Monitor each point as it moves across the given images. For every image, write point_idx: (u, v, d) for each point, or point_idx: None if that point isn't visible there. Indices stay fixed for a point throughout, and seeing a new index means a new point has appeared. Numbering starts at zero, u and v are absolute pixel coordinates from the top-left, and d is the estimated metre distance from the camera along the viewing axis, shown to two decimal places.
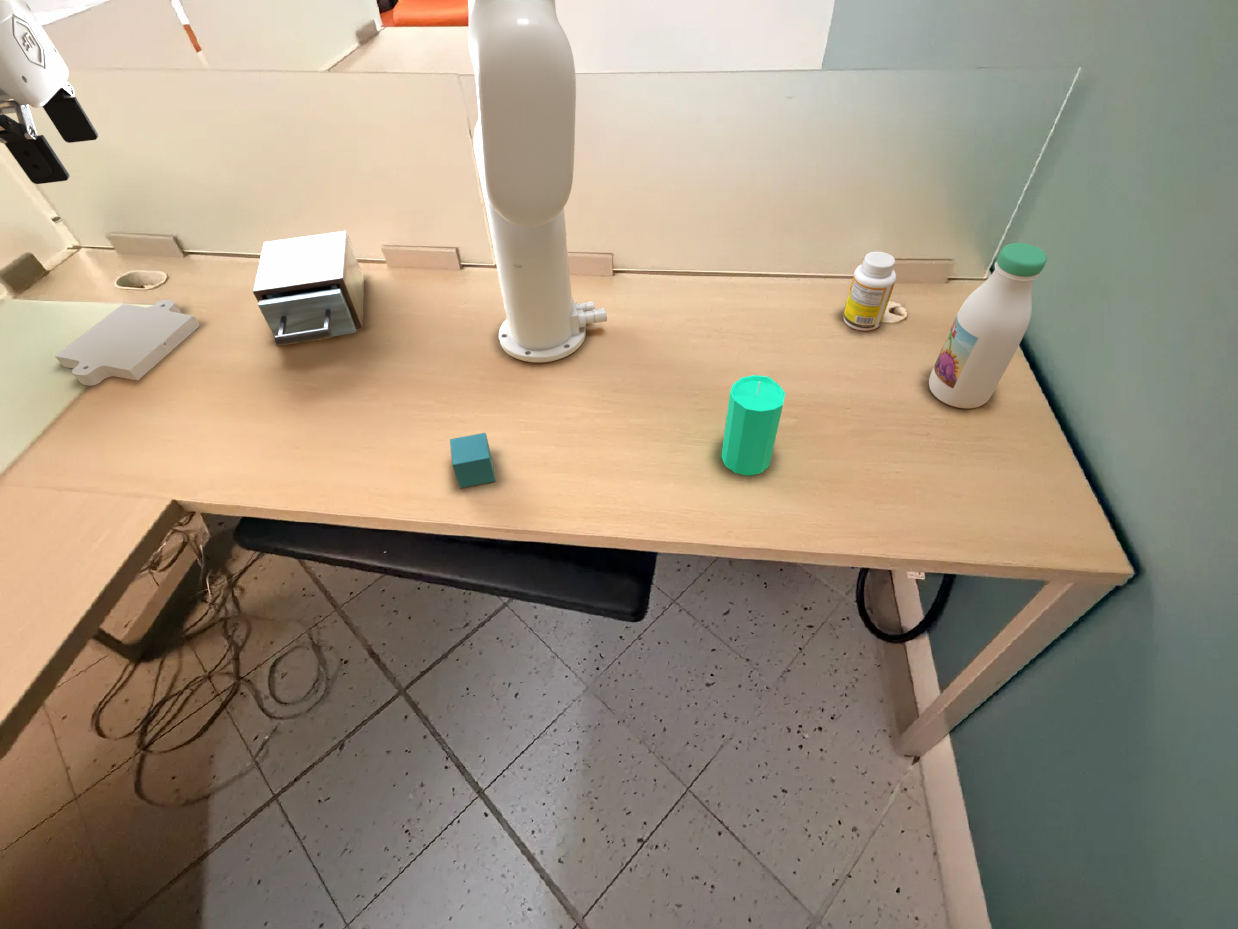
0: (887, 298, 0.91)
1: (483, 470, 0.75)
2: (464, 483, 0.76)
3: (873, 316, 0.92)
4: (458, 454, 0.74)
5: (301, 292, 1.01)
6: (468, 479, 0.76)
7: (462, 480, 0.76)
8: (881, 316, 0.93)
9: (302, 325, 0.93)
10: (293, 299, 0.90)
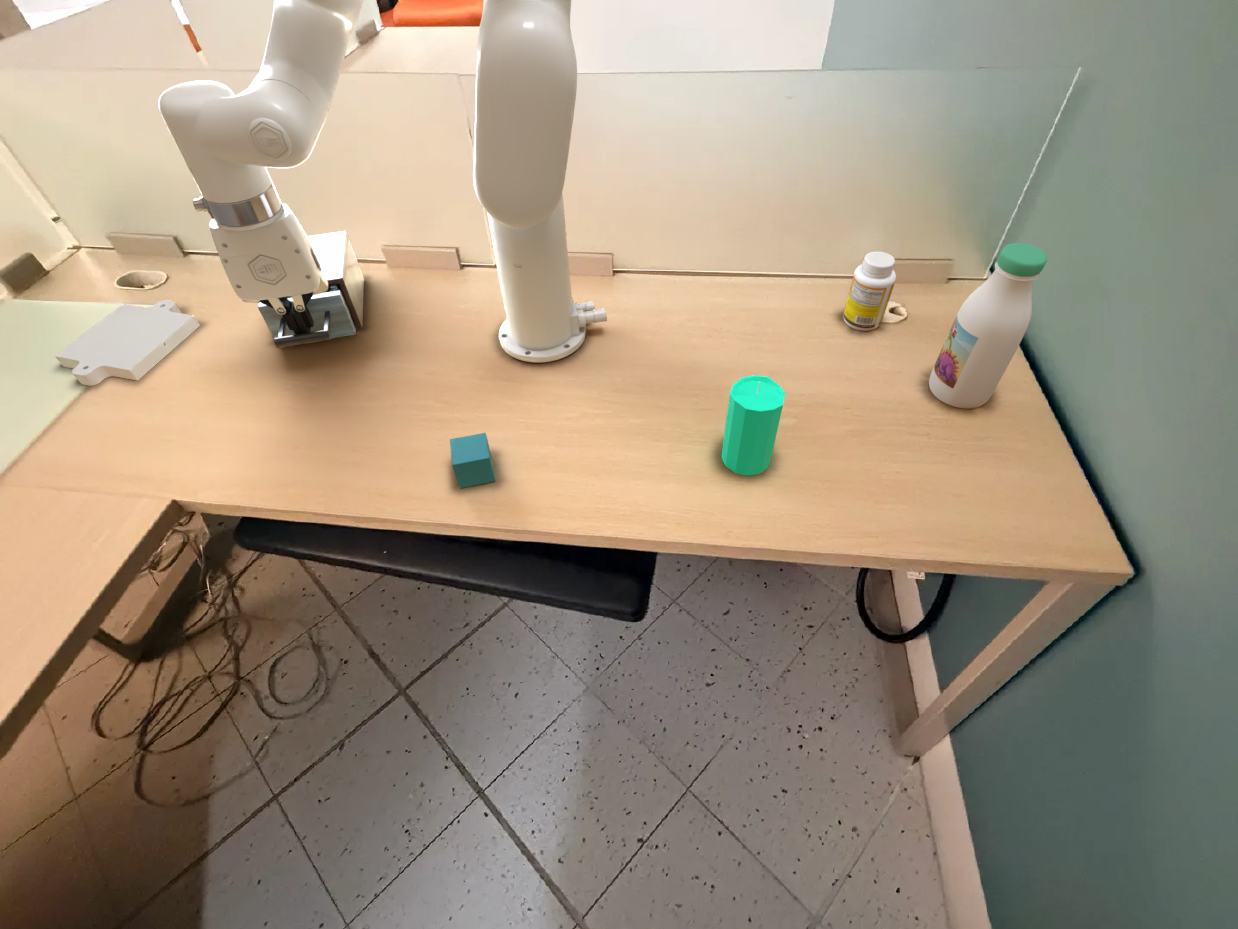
0: (887, 298, 0.91)
1: (483, 470, 0.75)
2: (464, 483, 0.76)
3: (873, 316, 0.92)
4: (458, 454, 0.74)
5: None
6: (468, 479, 0.76)
7: (462, 480, 0.76)
8: (881, 316, 0.93)
9: None
10: None
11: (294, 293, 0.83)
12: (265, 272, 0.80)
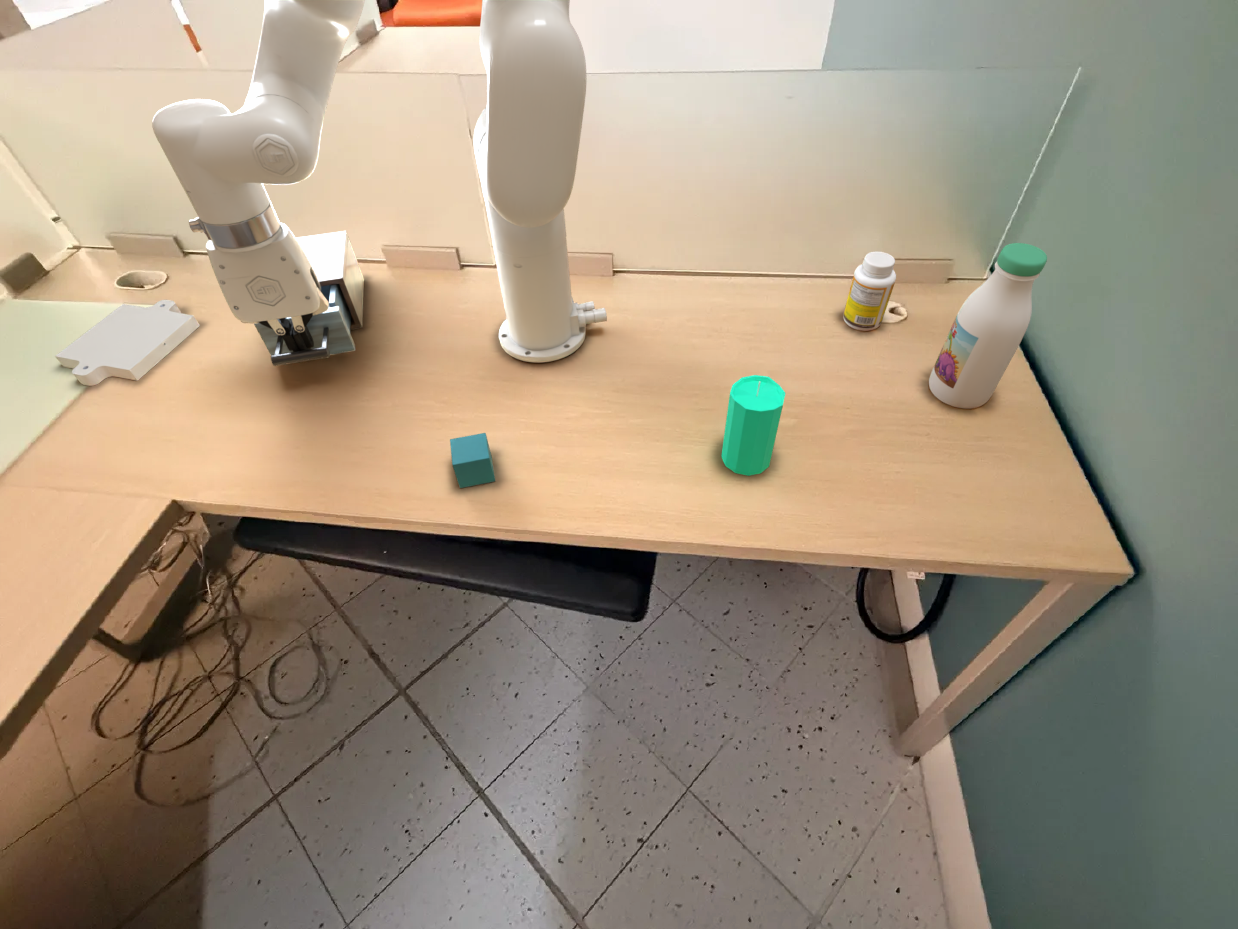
0: (887, 298, 0.91)
1: (483, 470, 0.75)
2: (464, 483, 0.76)
3: (873, 316, 0.92)
4: (458, 454, 0.74)
5: None
6: (468, 479, 0.76)
7: (462, 480, 0.76)
8: (881, 316, 0.93)
9: None
10: None
11: (293, 314, 0.80)
12: (263, 293, 0.78)
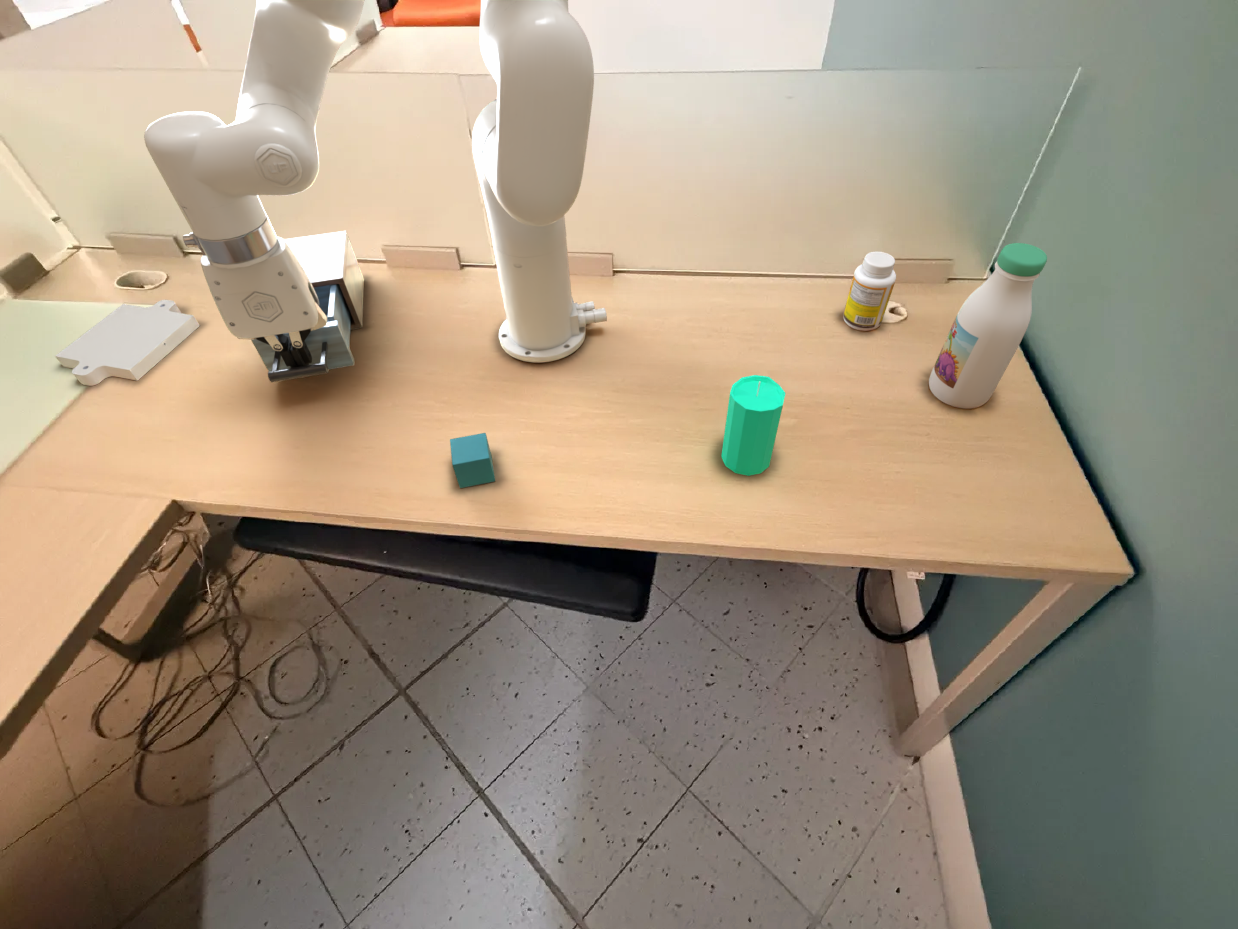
0: (887, 298, 0.91)
1: (483, 470, 0.75)
2: (464, 483, 0.76)
3: (873, 316, 0.92)
4: (458, 454, 0.74)
5: None
6: (468, 479, 0.76)
7: (462, 480, 0.76)
8: (881, 316, 0.93)
9: None
10: (288, 333, 0.85)
11: (291, 330, 0.78)
12: (260, 309, 0.75)
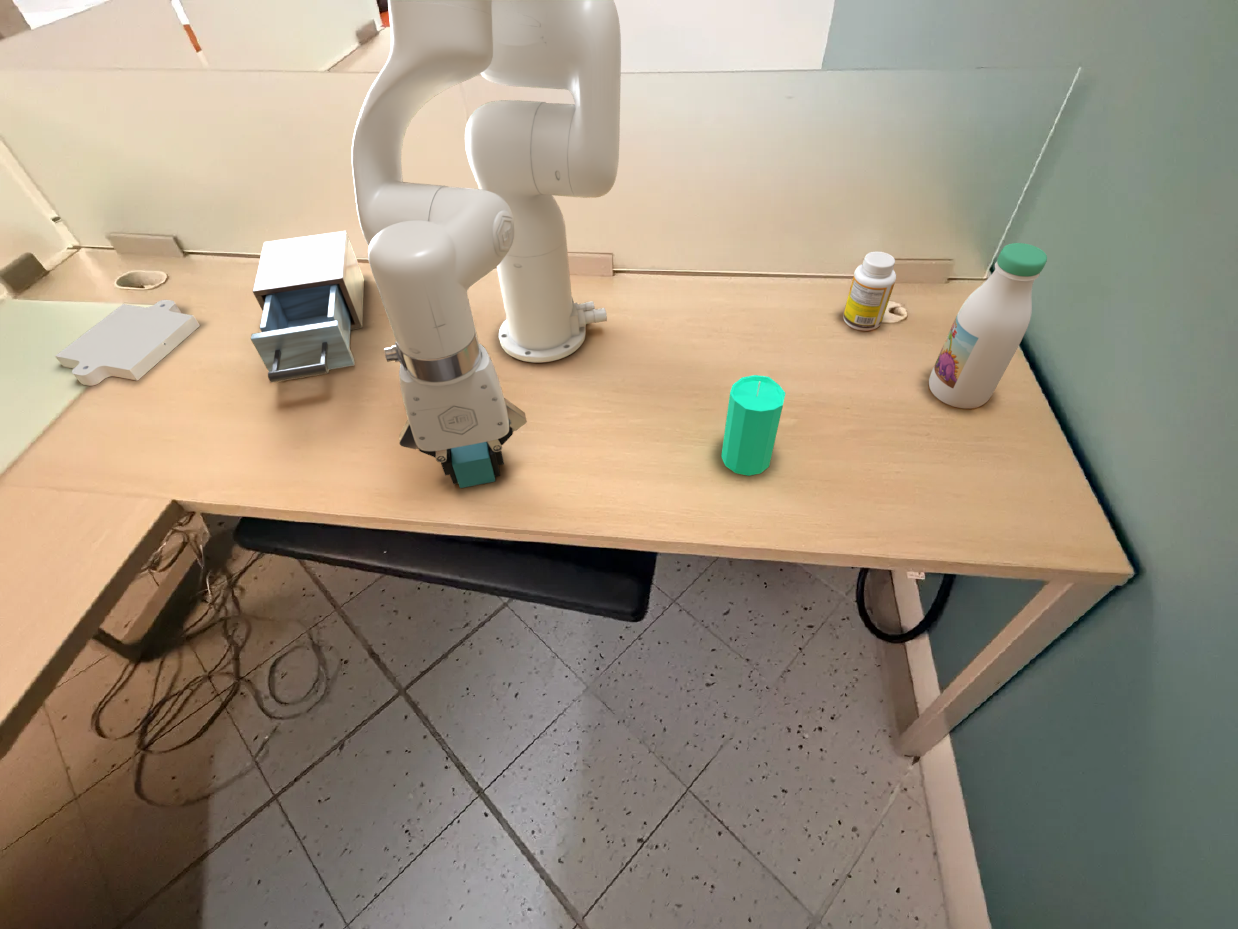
0: (887, 298, 0.91)
1: (483, 470, 0.75)
2: (464, 483, 0.76)
3: (873, 316, 0.92)
4: (458, 454, 0.74)
5: (297, 321, 0.96)
6: (468, 479, 0.76)
7: (462, 480, 0.76)
8: (881, 316, 0.93)
9: (298, 359, 0.88)
10: (288, 333, 0.85)
11: (481, 441, 0.71)
12: (455, 423, 0.68)
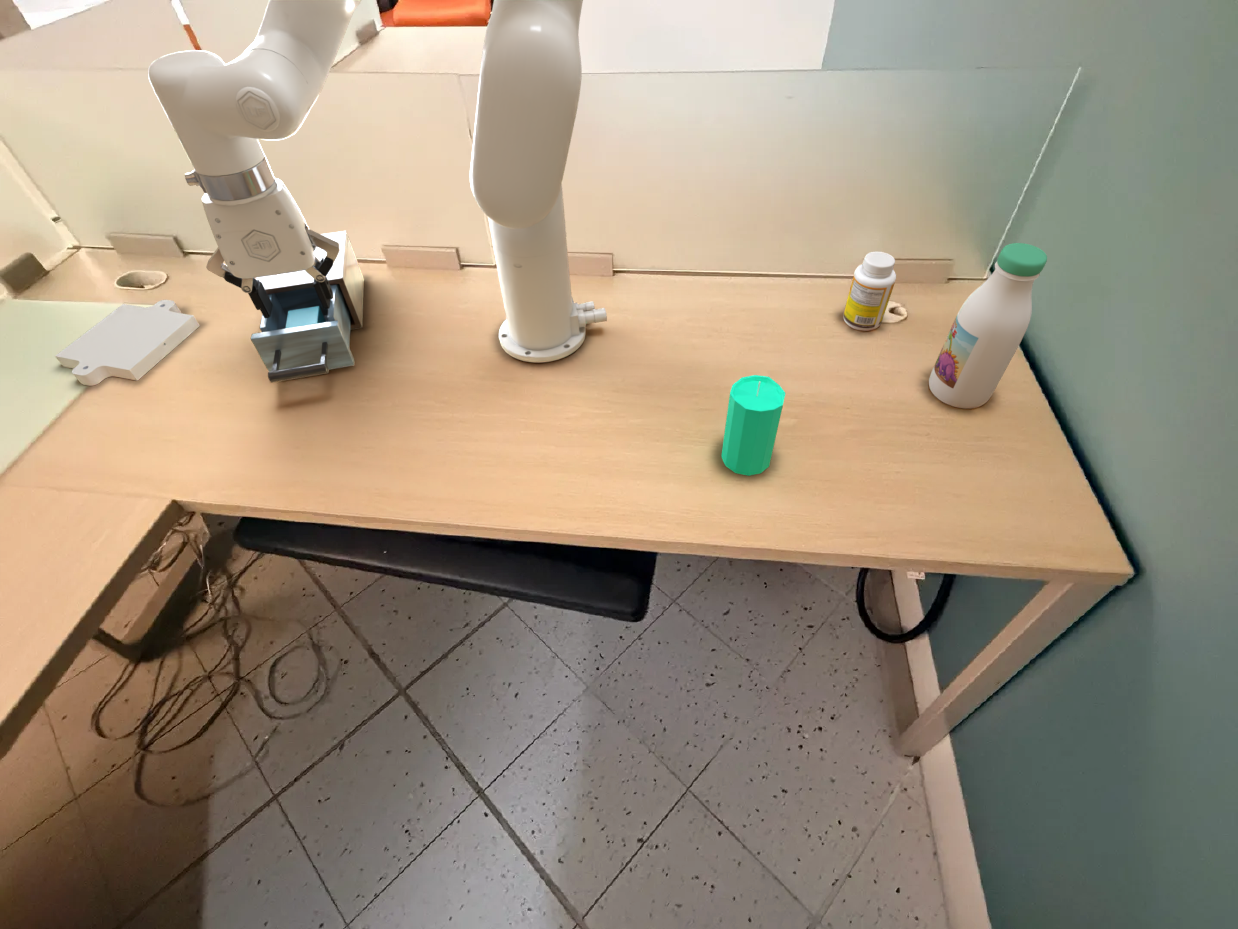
0: (887, 298, 0.91)
1: None
2: None
3: (873, 316, 0.92)
4: (292, 321, 0.89)
5: None
6: None
7: None
8: (881, 316, 0.93)
9: (298, 359, 0.88)
10: (288, 333, 0.85)
11: (289, 270, 0.82)
12: (259, 248, 0.79)
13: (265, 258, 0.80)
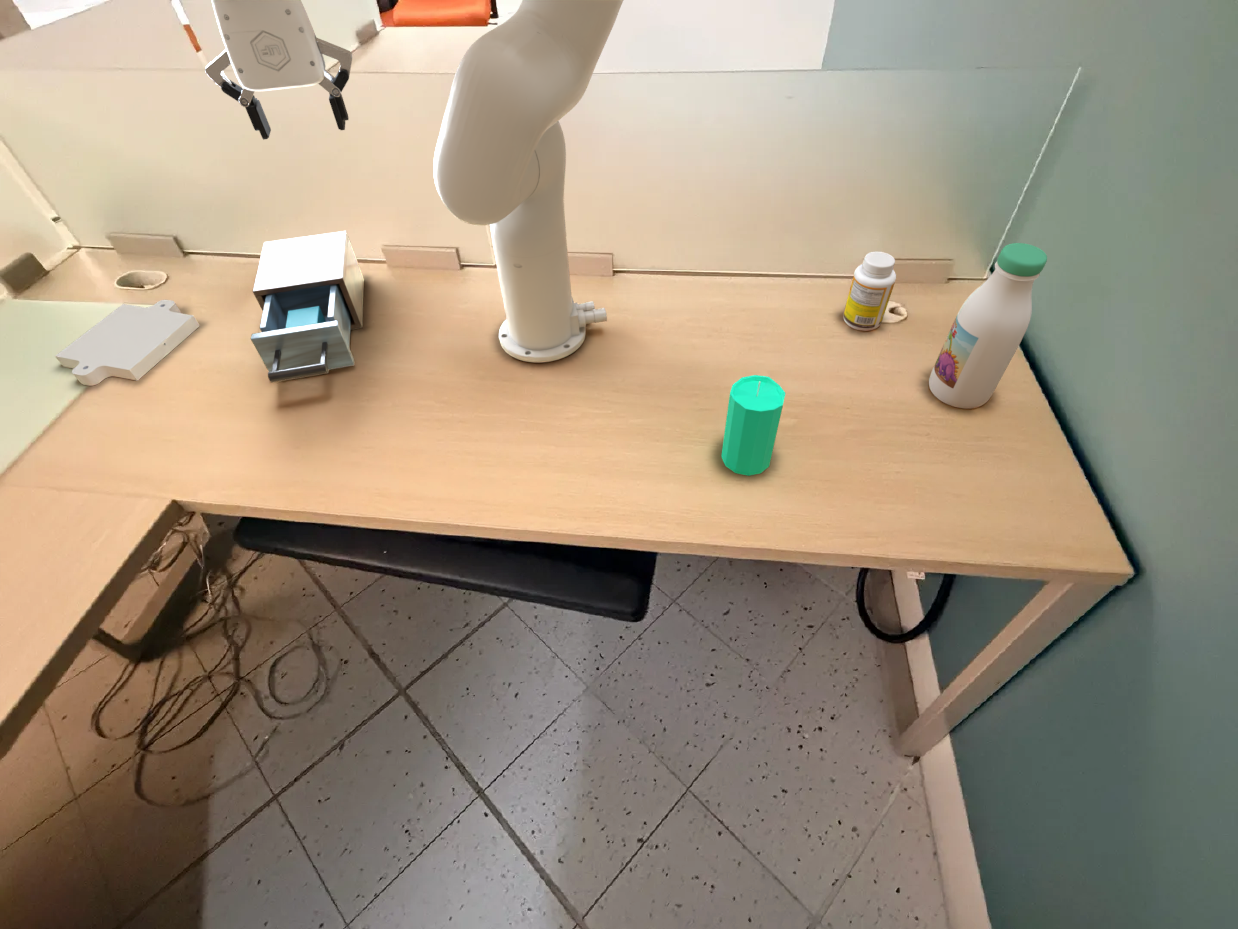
0: (887, 298, 0.90)
1: None
2: None
3: (873, 316, 0.92)
4: (292, 321, 0.89)
5: None
6: None
7: None
8: (881, 316, 0.93)
9: (298, 359, 0.88)
10: (288, 333, 0.85)
11: (298, 83, 0.80)
12: (268, 54, 0.77)
13: (274, 67, 0.78)
